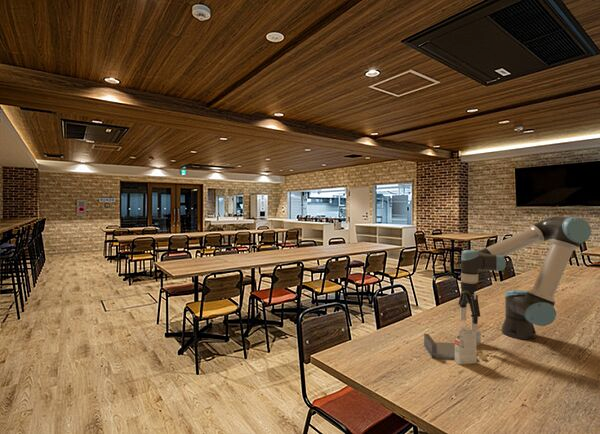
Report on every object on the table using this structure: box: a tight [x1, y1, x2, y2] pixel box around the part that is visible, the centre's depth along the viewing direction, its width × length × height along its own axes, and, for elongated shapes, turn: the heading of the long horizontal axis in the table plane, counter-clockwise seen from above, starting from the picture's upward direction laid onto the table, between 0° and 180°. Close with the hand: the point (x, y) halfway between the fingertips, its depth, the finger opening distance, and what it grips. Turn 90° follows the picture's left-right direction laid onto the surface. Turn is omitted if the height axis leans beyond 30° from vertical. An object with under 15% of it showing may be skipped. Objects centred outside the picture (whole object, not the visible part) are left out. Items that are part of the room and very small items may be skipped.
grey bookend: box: [423, 333, 455, 360], centre depth 153 cm, size 18×13×6 cm
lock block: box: [457, 326, 482, 347], centre depth 163 cm, size 9×6×7 cm
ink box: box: [454, 330, 477, 365], centre depth 143 cm, size 4×8×15 cm, turn 96°
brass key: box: [476, 349, 488, 362], centre depth 149 cm, size 8×4×1 cm, turn 174°
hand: (468, 325), depth 163 cm, fingers open, 13 cm apart
